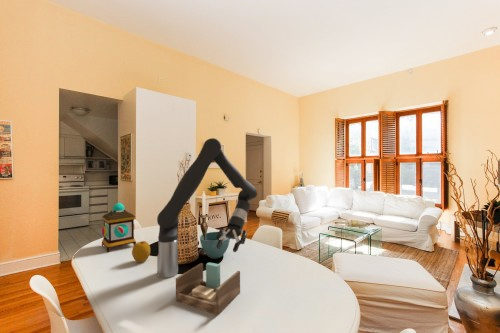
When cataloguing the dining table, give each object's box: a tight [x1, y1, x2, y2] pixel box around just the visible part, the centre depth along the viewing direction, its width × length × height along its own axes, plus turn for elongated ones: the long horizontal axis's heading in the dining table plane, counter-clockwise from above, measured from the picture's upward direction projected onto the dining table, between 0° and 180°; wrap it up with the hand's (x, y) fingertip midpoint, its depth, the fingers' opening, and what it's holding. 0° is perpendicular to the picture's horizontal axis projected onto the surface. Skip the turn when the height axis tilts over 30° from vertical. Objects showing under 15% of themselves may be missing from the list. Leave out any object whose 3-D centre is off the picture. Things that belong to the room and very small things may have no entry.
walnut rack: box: [175, 262, 241, 316], centre depth 95 cm, size 20×16×10 cm
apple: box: [131, 240, 151, 263], centre depth 135 cm, size 10×10×12 cm
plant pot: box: [199, 231, 231, 259], centre depth 142 cm, size 18×18×12 cm
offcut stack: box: [192, 285, 216, 303], centre depth 91 cm, size 9×5×4 cm, turn 64°
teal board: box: [205, 262, 221, 290], centre depth 97 cm, size 6×2×12 cm, turn 64°
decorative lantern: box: [101, 202, 137, 253], centre depth 162 cm, size 20×20×30 cm
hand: (226, 250), depth 107 cm, fingers open, 8 cm apart
